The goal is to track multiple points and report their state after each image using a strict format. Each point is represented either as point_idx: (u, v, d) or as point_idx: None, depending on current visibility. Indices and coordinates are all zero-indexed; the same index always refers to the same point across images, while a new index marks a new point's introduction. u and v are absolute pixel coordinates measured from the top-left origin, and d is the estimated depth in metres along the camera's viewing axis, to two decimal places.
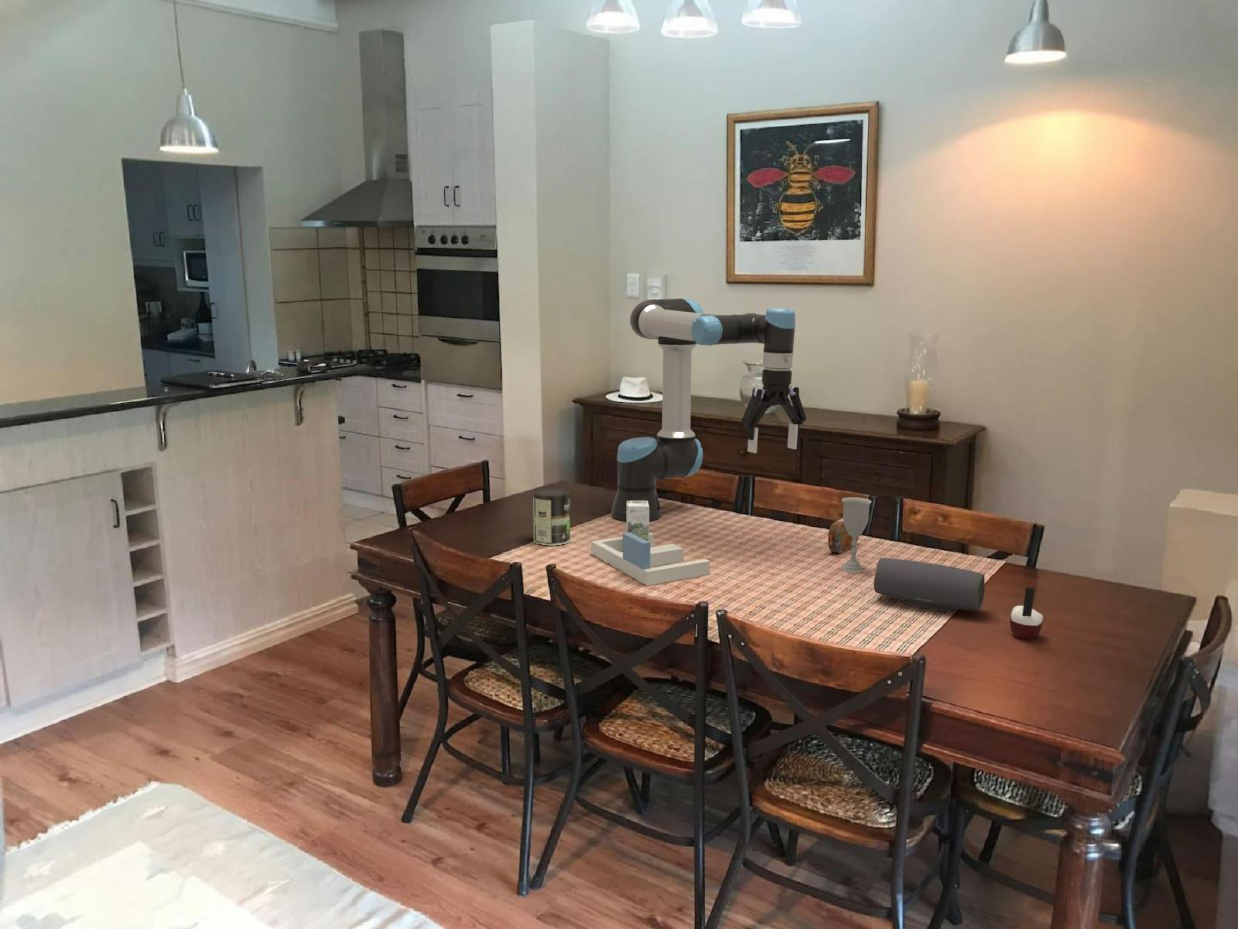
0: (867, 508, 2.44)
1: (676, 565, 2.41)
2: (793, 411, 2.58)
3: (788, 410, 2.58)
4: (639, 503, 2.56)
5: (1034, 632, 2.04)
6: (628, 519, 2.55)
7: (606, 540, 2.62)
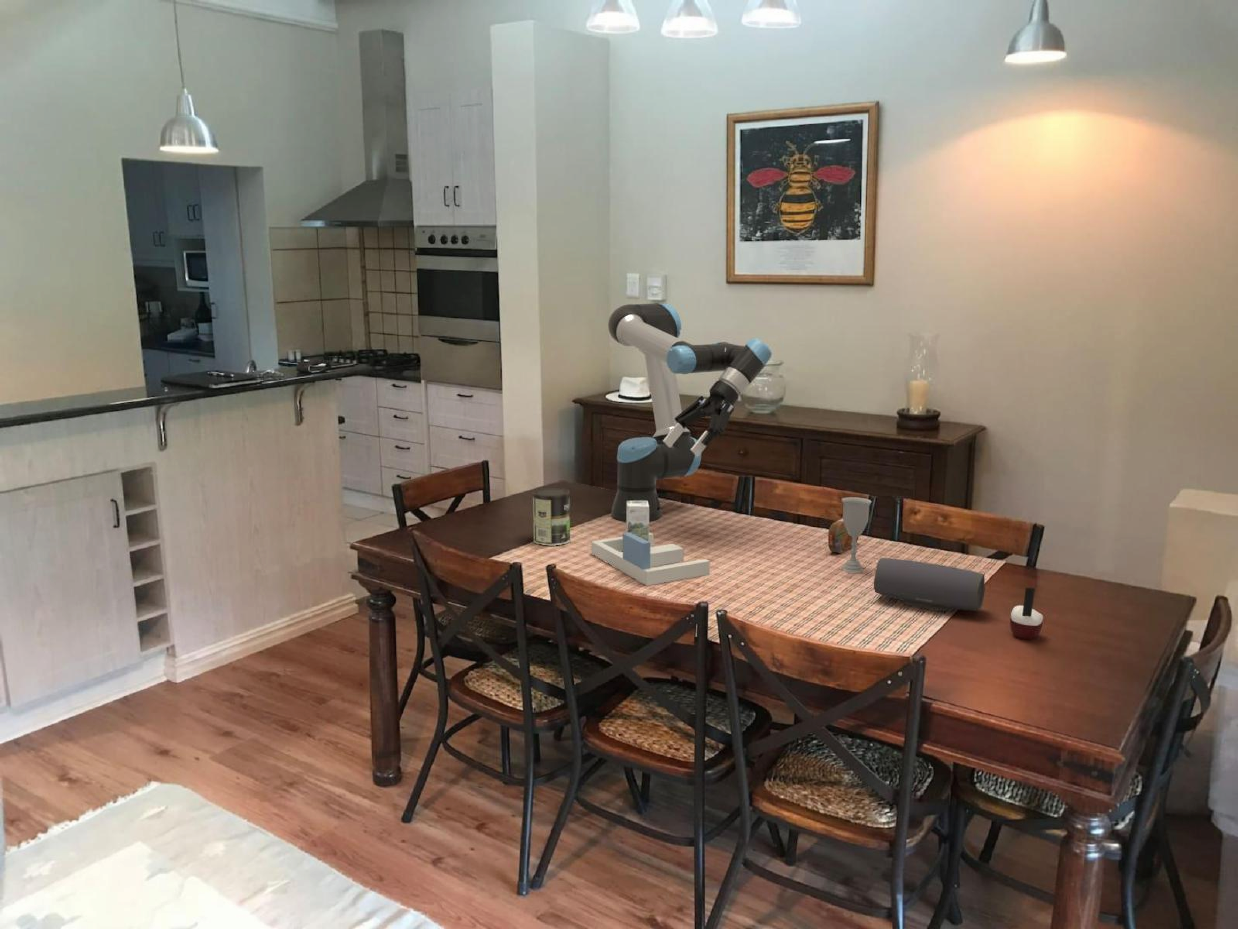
0: (867, 508, 2.44)
1: (676, 565, 2.41)
2: None
3: (695, 418, 2.66)
4: (639, 503, 2.56)
5: (1034, 632, 2.04)
6: (628, 519, 2.55)
7: (606, 540, 2.62)
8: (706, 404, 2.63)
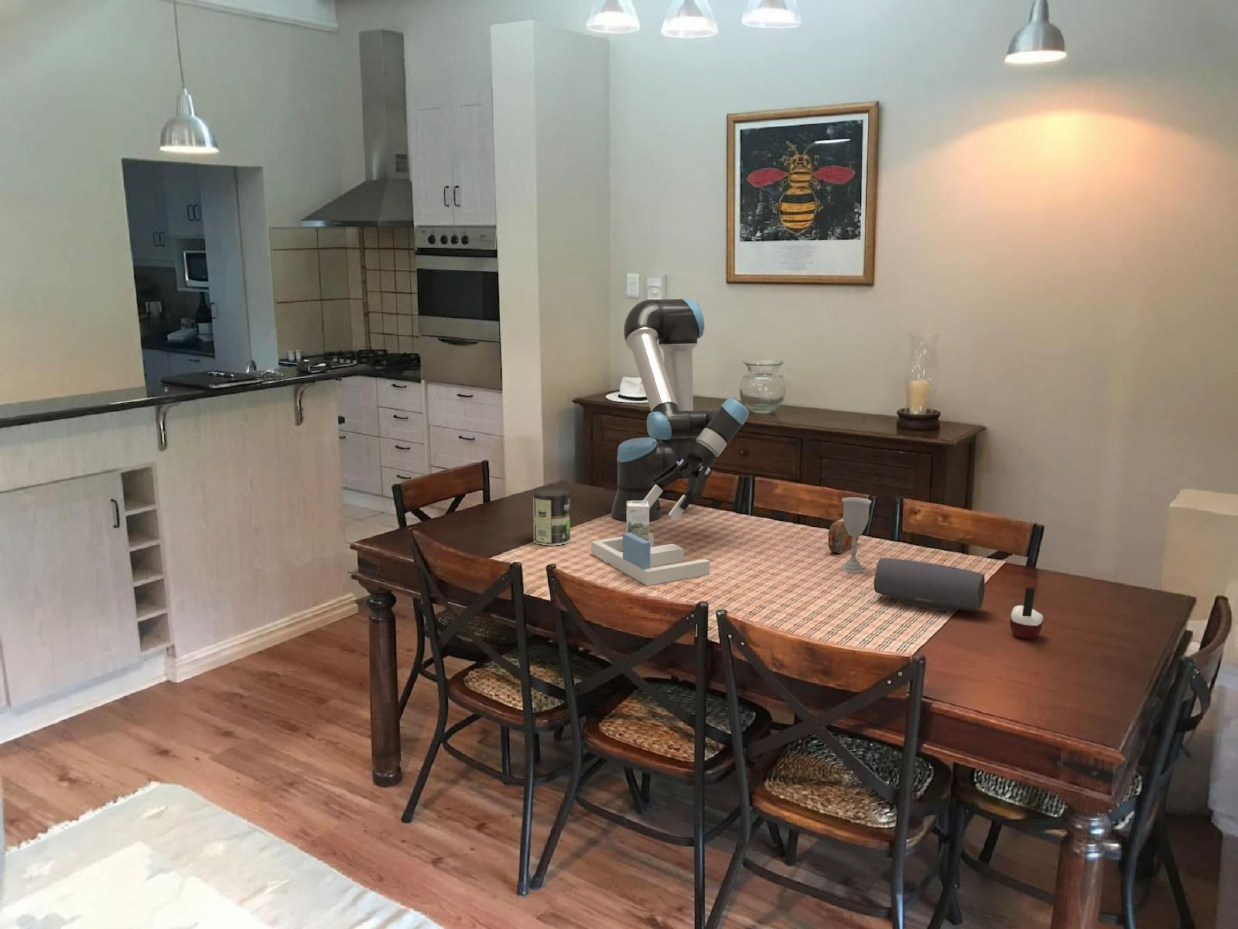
0: (867, 508, 2.44)
1: (676, 565, 2.41)
2: None
3: (673, 479, 2.65)
4: (639, 503, 2.56)
5: (1034, 632, 2.04)
6: (628, 519, 2.55)
7: (606, 540, 2.62)
8: (684, 466, 2.62)
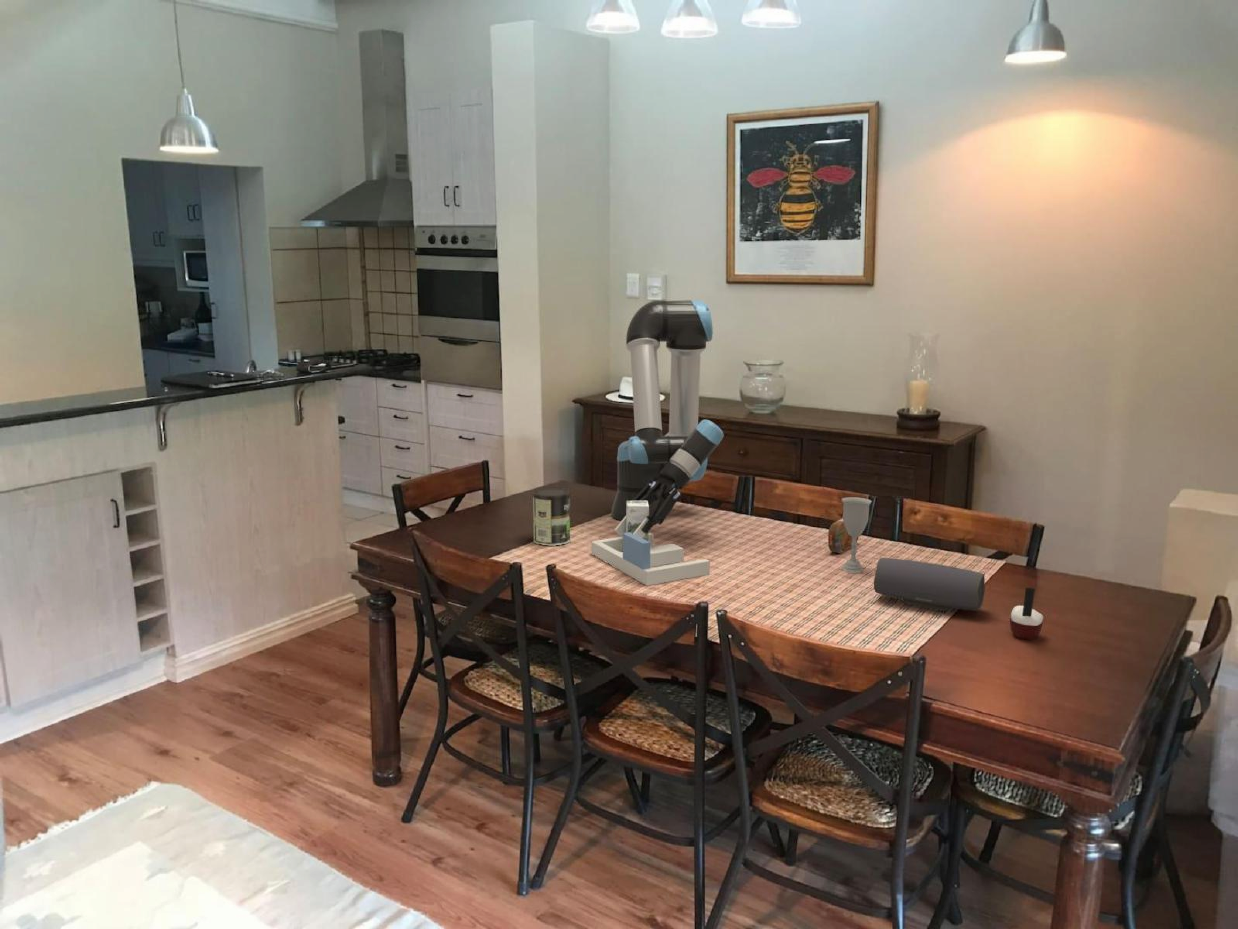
0: (867, 508, 2.44)
1: (676, 565, 2.41)
2: None
3: (648, 502, 2.62)
4: (639, 503, 2.56)
5: (1034, 632, 2.04)
6: (628, 519, 2.55)
7: (606, 540, 2.62)
8: (657, 486, 2.61)
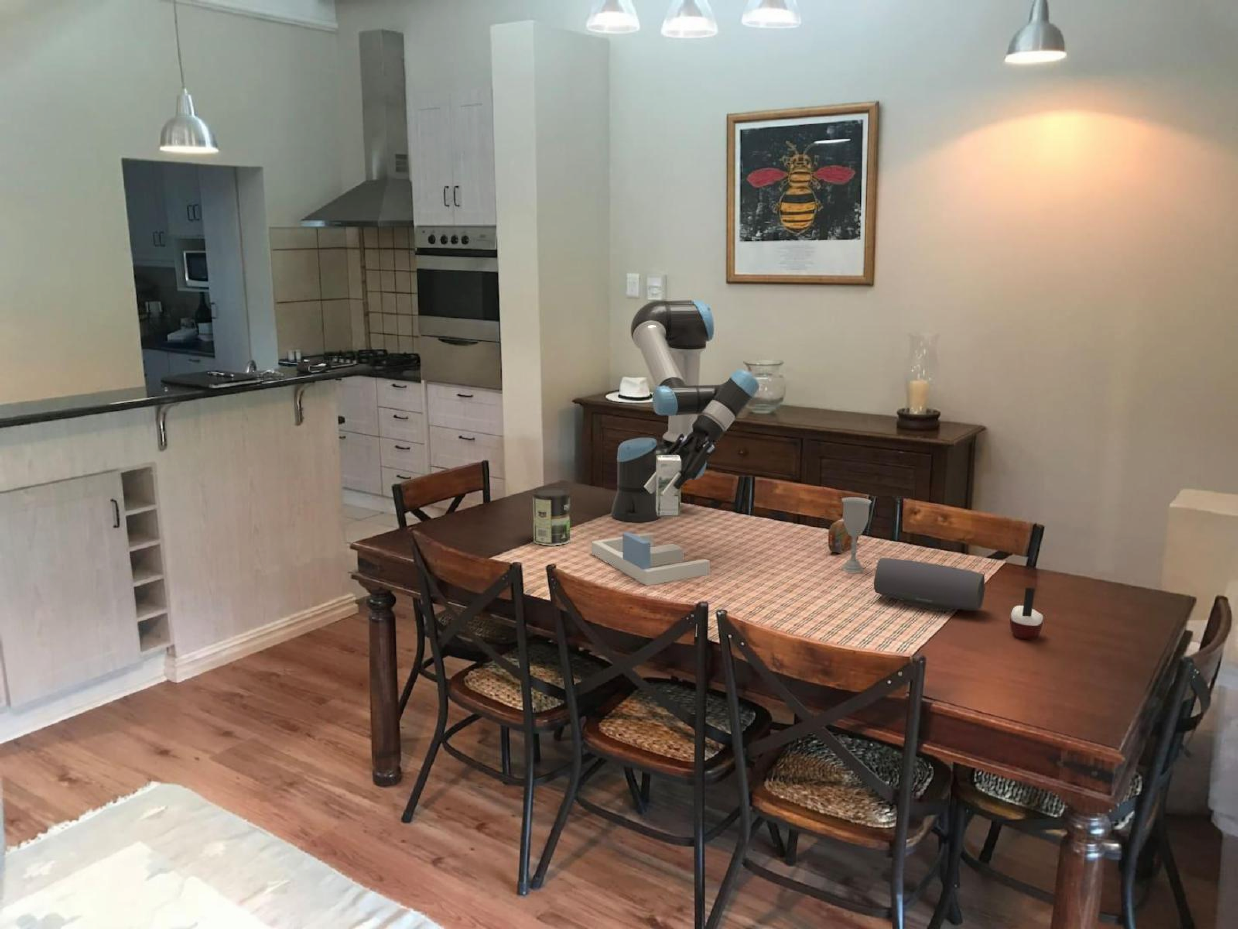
0: (867, 508, 2.44)
1: (676, 565, 2.41)
2: None
3: None
4: (670, 457, 2.41)
5: (1034, 632, 2.04)
6: (659, 474, 2.39)
7: (606, 540, 2.62)
8: (689, 440, 2.45)
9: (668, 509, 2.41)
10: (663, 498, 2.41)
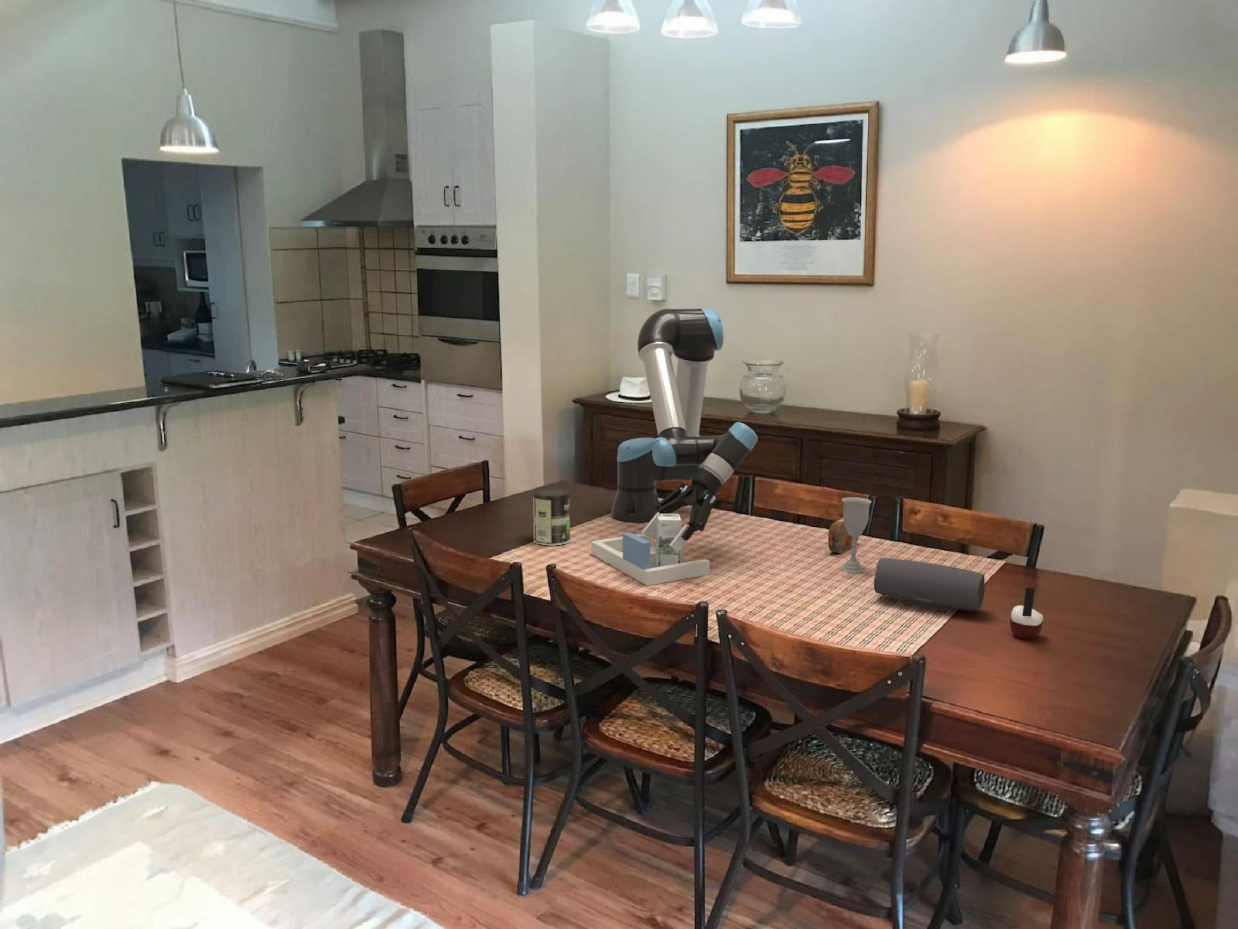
0: (867, 508, 2.44)
1: (676, 565, 2.41)
2: None
3: (677, 507, 2.50)
4: (670, 516, 2.44)
5: (1034, 632, 2.04)
6: (659, 533, 2.42)
7: (606, 540, 2.62)
8: (688, 493, 2.48)
9: None
10: (663, 557, 2.44)
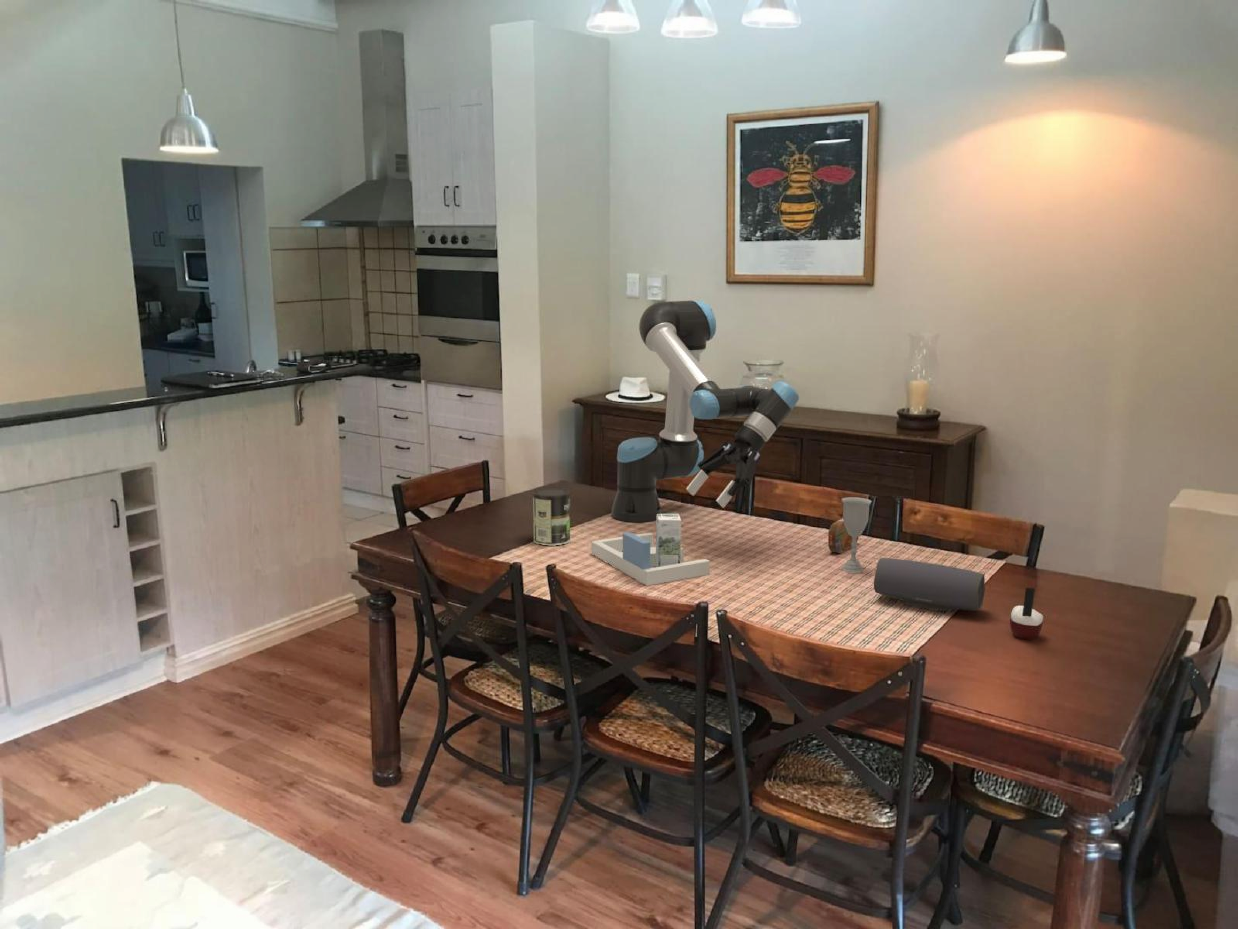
0: (867, 508, 2.44)
1: (676, 565, 2.41)
2: None
3: (720, 464, 2.55)
4: (670, 516, 2.44)
5: (1034, 632, 2.04)
6: (659, 533, 2.42)
7: (606, 540, 2.62)
8: (731, 451, 2.52)
9: None
10: (663, 557, 2.44)
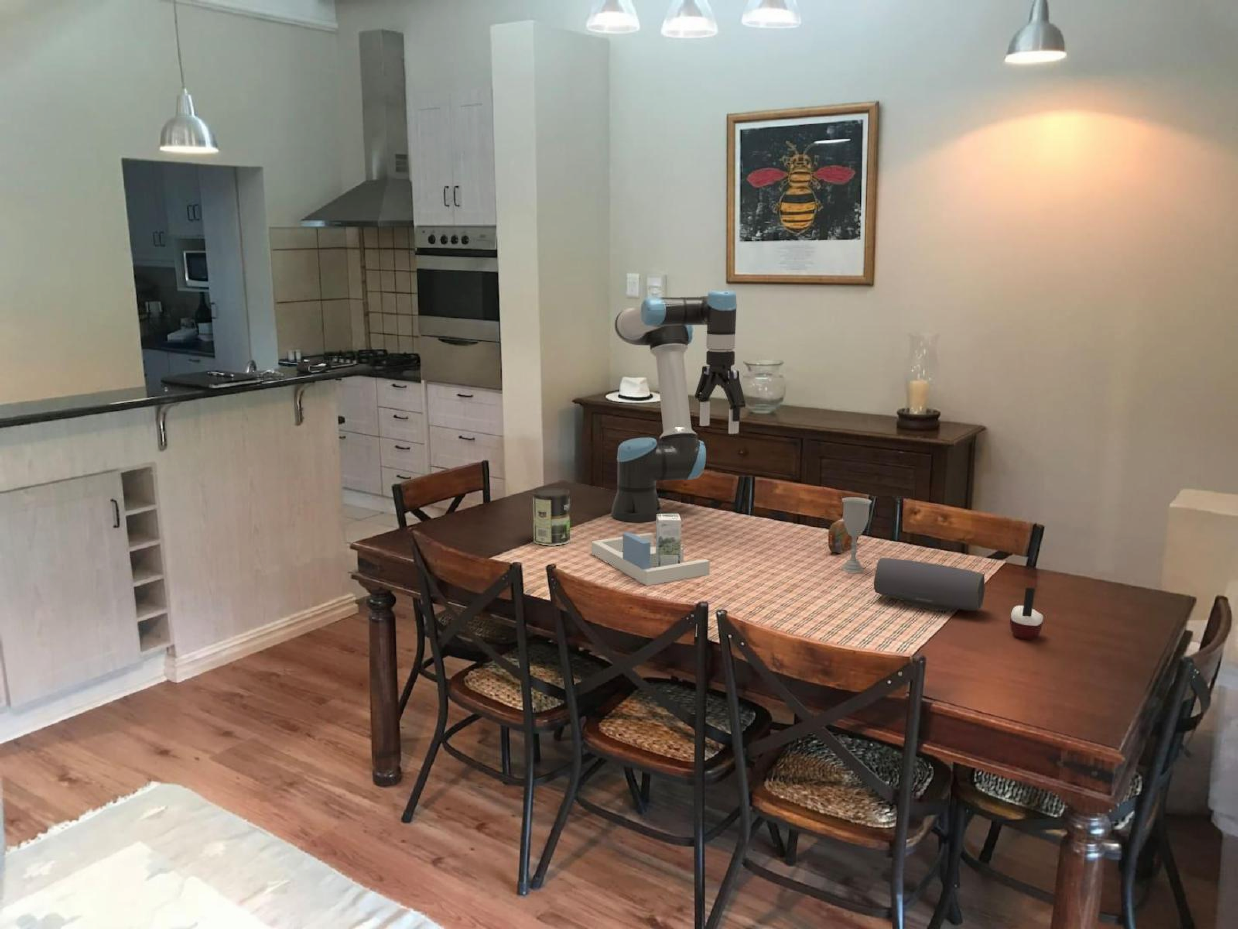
0: (867, 508, 2.44)
1: (676, 565, 2.41)
2: None
3: (712, 389, 2.67)
4: (670, 516, 2.44)
5: (1034, 632, 2.04)
6: (659, 533, 2.42)
7: (606, 540, 2.62)
8: (712, 377, 2.63)
9: None
10: (663, 557, 2.44)
